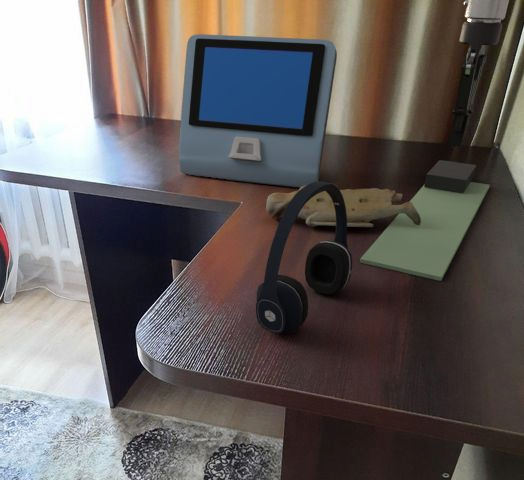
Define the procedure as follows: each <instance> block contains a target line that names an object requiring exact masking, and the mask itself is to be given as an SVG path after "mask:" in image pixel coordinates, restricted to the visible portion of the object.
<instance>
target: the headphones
mask: <svg viewBox="0 0 524 480" xmlns="http://www.w3.org/2000/svg"><path fill="white" fill-rule="evenodd" d="M335 185H336V184H334V183H331V182H326V181H322V180H321V181H320V180H319V182H313V183H310V184H308V185H307V186H305V187H304V188H302V189H301V190H300V191H299V192H298V193H296V194H295V196H294V197H293V198H292V200H291V201H290V203H289V204H288V206H287V208H286V210H285V212H284V214H283V216H281V218H280V220H279V222H278V225H277V227H276V230H275V233H274V236H273V240H272V241H271V245H270V249H269V252H268V257H267V262H266V266H265V270H264V271H265V272H264V279H263V282H262V283H261V284H260V285H258V286H257V291H256V303H255V315H256V320H257V322H258V325H260V327H261V328H263V329H264V330H265V331H268V332H270V333H273V334H281V333H282V334H284V335H292V334H294V333H295V332H297V331H298V330H299V329H300V327H302V326H303V325H304V323H305V322H306V320H307V317H308V313H309V298H308V294H307V293H308V292H307V290H306V288H305V286H303V284H302V283H301V282H300V281H298V280H297V279H296V278H294V277H291V276H289V275H285V274H279V270H280V266H281V261H282V258H283V254H284V251H285V248H286V244H287V240H288V239H289V236H290V233H291V231H292V228H293V226H294V224H295V222H296V220H297V218H298V217H299V216H298V214H299V213H300V211H301V209H302V208H303V206H304V205H305V204H306V203H307V202H308V201H309V200H310V199H311V198H312V197H314V196H315V195H317V194H318V193H321V192H323V191H326V192H327V193H328V194H329V196H330V197H331V199H332V201H333V203H334V208H335V214H336V226H335V233H334V238H333V240H321V241H320V242H318V243H316V244H315V245H314V246H312V247H311V248H310V249H309V251H308V253H307V255H306V259H305V263H304V264H305V265H304V277H305V281H306V283H307V285H308V287H309V288H310V289H312V291H314V292H317V293H319V294H321V295H322V294H323V295H327V296H331V295H337V294H338V293H340V291H342V290H343V289H345V288H346V287H347V286H348V284H349V282H350V279H351V275H352V270H353V256H352V253H351V251H350V249H349V246H348V235H347V234H348V227H347V214H346V207H345V202H344V198H343V195H342V193H341V191H340V190H341V189H339V187H338V185H336V186H335Z"/></svg>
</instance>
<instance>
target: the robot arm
mask: <svg viewBox="0 0 524 480" xmlns="http://www.w3.org/2000/svg"><path fill="white" fill-rule="evenodd" d="M509 3H510V0H464V2H463V6H465V13H464V18H465V19H466V21H463V23H462V26H461V31H460V36H459V41H458V42H459V43H460V44H462V45H469V47H468V50H467V53H466V54H464V55H463V57H462V65H461V72H460V79H459V85H458V90H457V95H456V101H455V105H454V108H453V110H452V111H451V115H454V116H453V121H452V126H451V132H450V135H449V140H448V146H449V147H457V148H461V147H462V146H463V141H464V138H465V134H466V129H467V126H468V125H467V124H468V120H469V116H470V114H471V115H473V113H474V111H475V110H473V109H472V108H473V106H474V105H473V104H474V100H475V95H476V92H477V88H478V85H479V81H480V78H481V75H482V73H483V67H484V65H485V63H486V60H487V54H485V50H486V46H495V45H496V46H497V44H498V43H499V41H500V38H501V33H502V30H503V24H502V22H501V21H502V20H504V19H505V18H506V14H507V10H508V6H509Z"/></svg>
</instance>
